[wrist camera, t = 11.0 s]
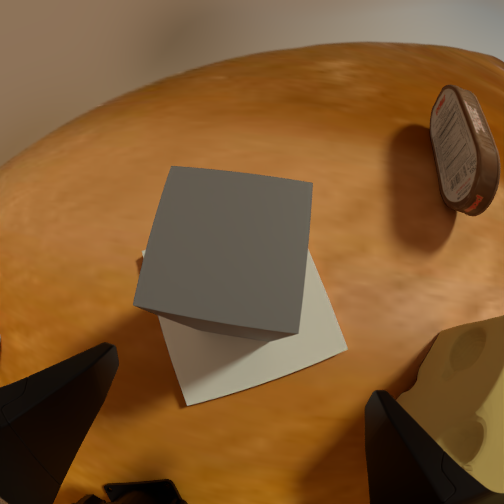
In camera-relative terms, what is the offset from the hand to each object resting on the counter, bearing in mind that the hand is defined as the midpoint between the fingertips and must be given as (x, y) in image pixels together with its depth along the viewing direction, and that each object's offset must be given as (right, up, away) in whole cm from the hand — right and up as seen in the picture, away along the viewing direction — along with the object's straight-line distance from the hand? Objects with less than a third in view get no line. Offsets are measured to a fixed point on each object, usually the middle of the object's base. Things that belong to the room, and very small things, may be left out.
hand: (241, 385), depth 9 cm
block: (-1, +1, +12) cm, 12 cm away
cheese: (+17, -9, +10) cm, 21 cm away
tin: (+21, +14, +17) cm, 30 cm away
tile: (-1, +1, +12) cm, 12 cm away
